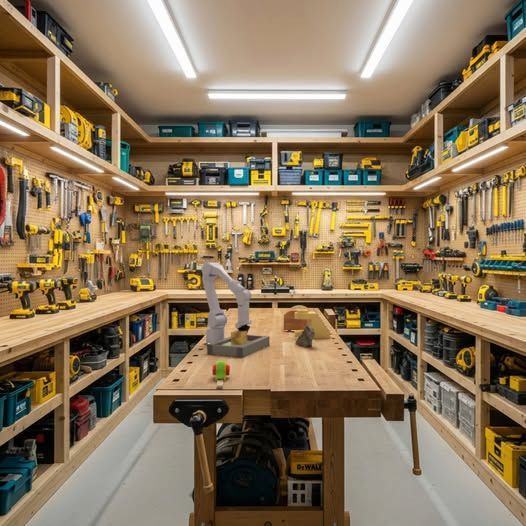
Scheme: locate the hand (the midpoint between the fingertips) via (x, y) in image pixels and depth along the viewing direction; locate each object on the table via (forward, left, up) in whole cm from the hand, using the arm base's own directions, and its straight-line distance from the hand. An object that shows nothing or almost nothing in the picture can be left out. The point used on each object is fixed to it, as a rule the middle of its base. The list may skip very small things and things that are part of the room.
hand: (243, 340), depth 205 cm
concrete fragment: (+27, +17, -4) cm, 32 cm away
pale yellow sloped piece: (+23, +43, -4) cm, 49 cm away
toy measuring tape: (+19, -55, -4) cm, 58 cm away
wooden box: (+3, +71, -4) cm, 71 cm away
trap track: (0, -4, -4) cm, 6 cm away
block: (0, -5, -1) cm, 5 cm away
